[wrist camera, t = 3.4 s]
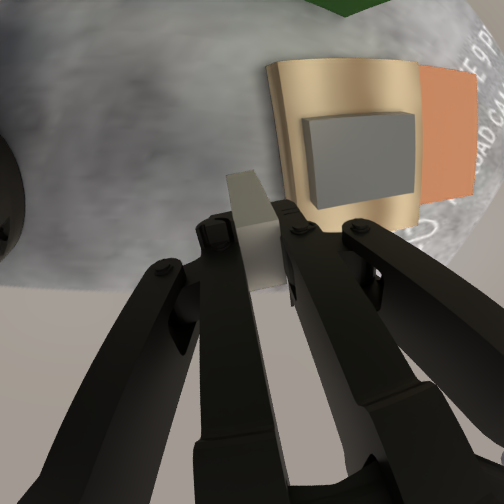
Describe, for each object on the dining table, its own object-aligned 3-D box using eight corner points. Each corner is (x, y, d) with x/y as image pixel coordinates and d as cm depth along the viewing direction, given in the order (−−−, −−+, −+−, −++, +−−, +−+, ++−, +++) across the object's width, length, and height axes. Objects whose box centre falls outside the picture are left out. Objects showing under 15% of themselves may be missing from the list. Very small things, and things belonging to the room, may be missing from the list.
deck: (289, 228, 26) (301, 251, 23) (265, 66, 19) (277, 61, 16) (395, 207, 27) (417, 225, 23) (390, 62, 19) (418, 62, 16)
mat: (399, 206, 27) (401, 208, 26) (395, 63, 19) (397, 62, 19) (470, 193, 27) (472, 194, 27) (473, 74, 20) (476, 74, 19)
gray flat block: (310, 201, 21) (317, 210, 20) (301, 118, 18) (309, 120, 16) (402, 185, 21) (414, 192, 20) (402, 111, 18) (414, 114, 17)
